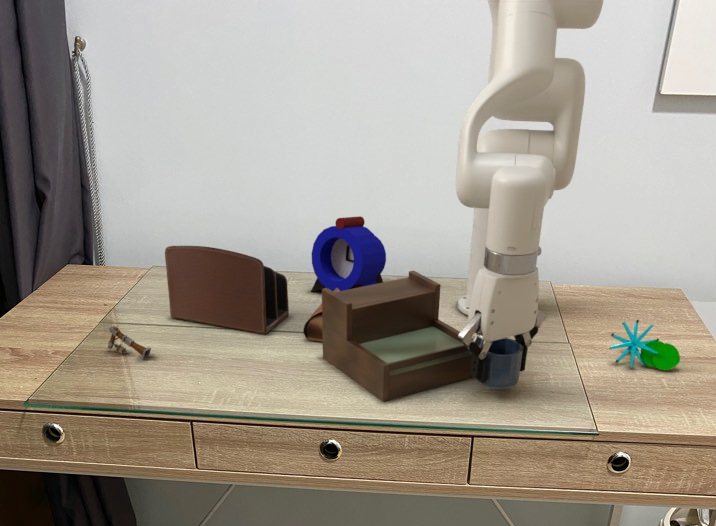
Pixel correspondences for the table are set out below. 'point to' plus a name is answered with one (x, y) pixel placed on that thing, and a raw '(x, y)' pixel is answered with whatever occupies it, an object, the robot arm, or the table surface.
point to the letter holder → (224, 289)
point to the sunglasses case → (315, 325)
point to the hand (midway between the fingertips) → (497, 372)
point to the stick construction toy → (648, 350)
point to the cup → (503, 363)
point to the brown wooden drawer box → (392, 337)
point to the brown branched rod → (127, 340)
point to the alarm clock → (347, 256)
